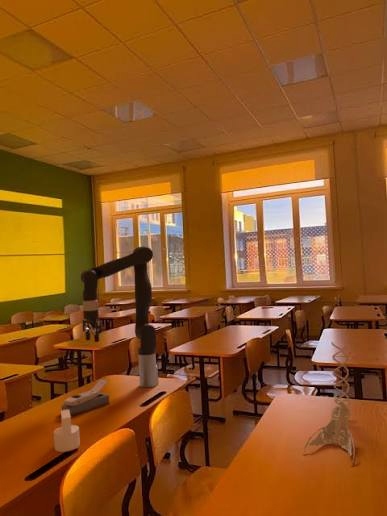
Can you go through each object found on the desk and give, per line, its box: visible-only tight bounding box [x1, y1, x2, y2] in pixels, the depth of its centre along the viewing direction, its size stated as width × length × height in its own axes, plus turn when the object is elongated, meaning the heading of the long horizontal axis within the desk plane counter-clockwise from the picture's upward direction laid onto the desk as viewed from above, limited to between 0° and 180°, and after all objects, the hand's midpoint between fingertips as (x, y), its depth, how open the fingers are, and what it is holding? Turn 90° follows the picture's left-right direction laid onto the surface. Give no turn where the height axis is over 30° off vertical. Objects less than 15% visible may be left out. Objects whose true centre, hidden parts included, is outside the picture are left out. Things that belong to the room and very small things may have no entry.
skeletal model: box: [302, 400, 356, 467], centre depth 142 cm, size 16×9×25 cm
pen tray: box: [61, 392, 110, 417], centre depth 192 cm, size 21×6×4 cm, turn 134°
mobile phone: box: [60, 379, 109, 408], centre depth 192 cm, size 6×6×25 cm
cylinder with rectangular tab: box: [53, 409, 81, 453], centre depth 153 cm, size 9×9×12 cm
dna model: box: [331, 341, 351, 412], centre depth 168 cm, size 7×6×30 cm
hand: (92, 341), depth 209 cm, fingers open, 8 cm apart
